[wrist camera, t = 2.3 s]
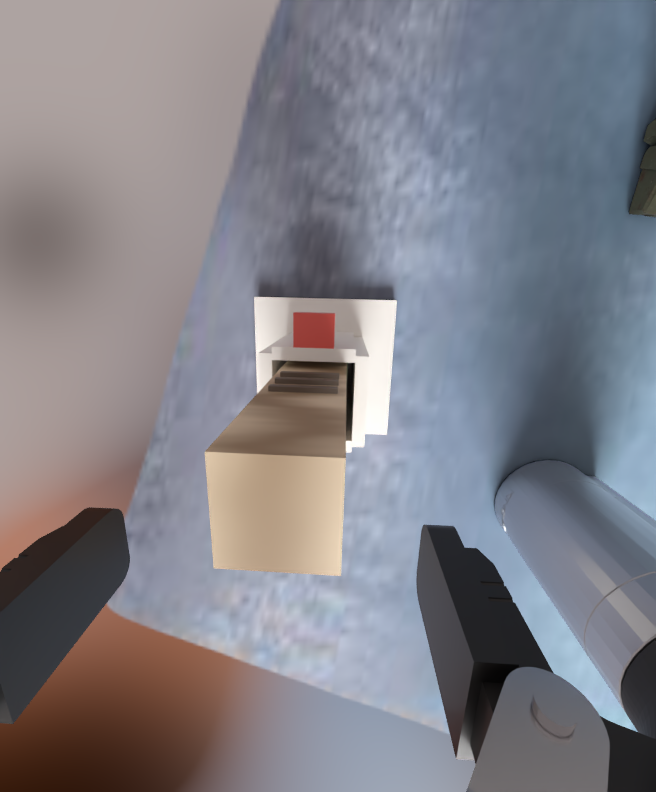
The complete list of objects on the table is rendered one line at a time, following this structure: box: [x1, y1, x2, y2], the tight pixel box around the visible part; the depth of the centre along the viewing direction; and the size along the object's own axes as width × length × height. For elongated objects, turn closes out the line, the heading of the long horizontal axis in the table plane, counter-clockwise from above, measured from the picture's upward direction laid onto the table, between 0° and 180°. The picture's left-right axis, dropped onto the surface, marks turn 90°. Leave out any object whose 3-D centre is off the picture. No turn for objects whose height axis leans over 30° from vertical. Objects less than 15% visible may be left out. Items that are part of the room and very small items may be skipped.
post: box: [205, 361, 348, 576], centre depth 21 cm, size 4×4×22 cm
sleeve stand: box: [254, 297, 397, 452], centre depth 27 cm, size 12×12×12 cm
